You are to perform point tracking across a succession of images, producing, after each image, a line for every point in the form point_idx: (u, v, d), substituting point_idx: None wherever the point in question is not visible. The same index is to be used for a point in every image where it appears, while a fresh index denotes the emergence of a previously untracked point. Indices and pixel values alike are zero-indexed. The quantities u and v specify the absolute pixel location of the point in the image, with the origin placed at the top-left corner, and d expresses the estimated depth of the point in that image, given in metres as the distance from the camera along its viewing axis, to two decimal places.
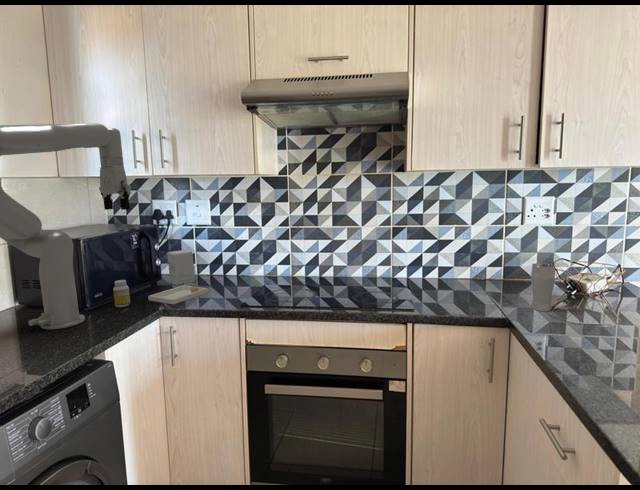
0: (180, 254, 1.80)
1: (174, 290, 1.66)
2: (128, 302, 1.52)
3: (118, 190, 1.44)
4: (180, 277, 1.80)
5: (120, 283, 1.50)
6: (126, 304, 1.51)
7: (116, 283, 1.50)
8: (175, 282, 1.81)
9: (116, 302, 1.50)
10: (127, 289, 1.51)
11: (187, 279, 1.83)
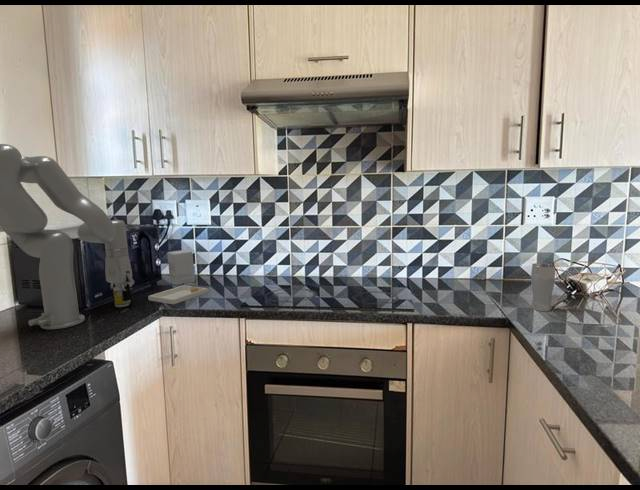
0: (180, 254, 1.80)
1: (174, 290, 1.66)
2: (128, 302, 1.52)
3: (123, 281, 1.47)
4: (180, 277, 1.80)
5: None
6: (126, 304, 1.51)
7: None
8: (175, 282, 1.81)
9: (116, 302, 1.50)
10: None
11: (187, 279, 1.83)
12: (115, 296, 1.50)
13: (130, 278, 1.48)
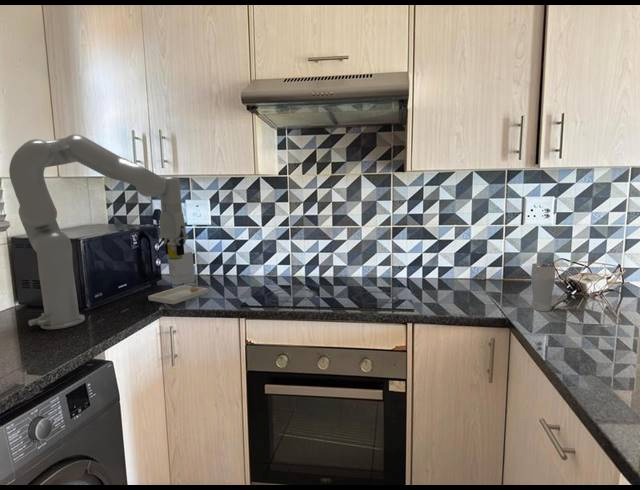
0: None
1: (174, 290, 1.66)
2: (181, 257, 1.57)
3: (178, 235, 1.52)
4: (180, 277, 1.80)
5: (174, 238, 1.55)
6: (179, 258, 1.56)
7: (170, 238, 1.55)
8: (175, 282, 1.81)
9: (170, 256, 1.55)
10: None
11: (187, 279, 1.83)
12: (169, 250, 1.55)
13: (184, 233, 1.53)
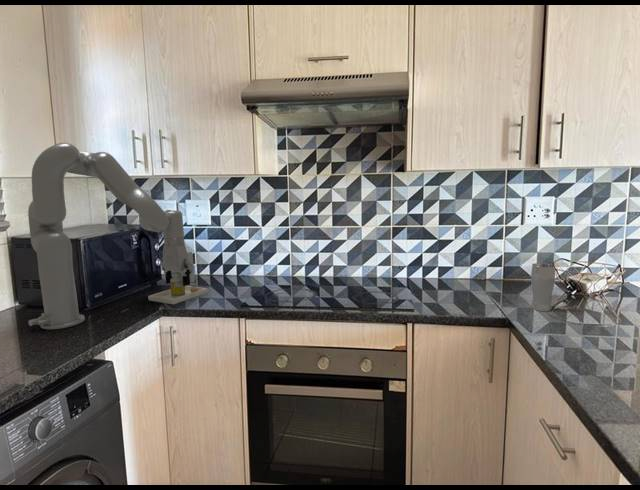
0: None
1: None
2: (184, 293, 1.60)
3: (181, 269, 1.54)
4: None
5: (177, 275, 1.57)
6: (182, 295, 1.59)
7: (173, 275, 1.57)
8: None
9: (173, 293, 1.58)
10: None
11: None
12: (172, 287, 1.57)
13: (188, 263, 1.55)
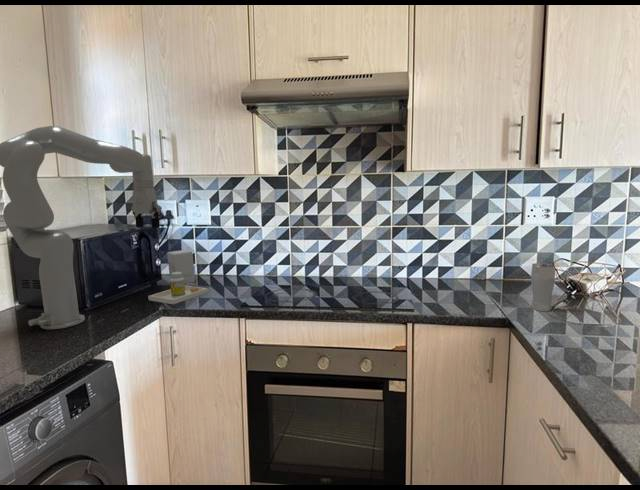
0: (180, 254, 1.80)
1: None
2: (184, 293, 1.60)
3: (150, 210, 1.58)
4: None
5: (177, 275, 1.57)
6: (182, 295, 1.59)
7: (173, 275, 1.57)
8: None
9: (173, 293, 1.58)
10: (183, 281, 1.59)
11: (187, 279, 1.83)
12: (172, 287, 1.57)
13: (157, 205, 1.58)
